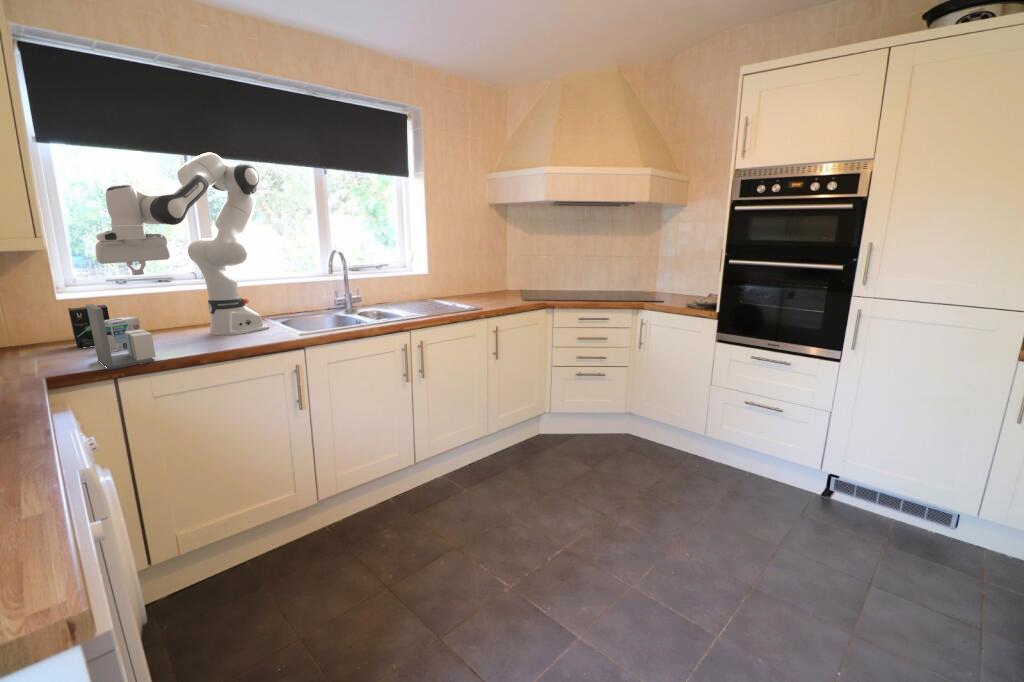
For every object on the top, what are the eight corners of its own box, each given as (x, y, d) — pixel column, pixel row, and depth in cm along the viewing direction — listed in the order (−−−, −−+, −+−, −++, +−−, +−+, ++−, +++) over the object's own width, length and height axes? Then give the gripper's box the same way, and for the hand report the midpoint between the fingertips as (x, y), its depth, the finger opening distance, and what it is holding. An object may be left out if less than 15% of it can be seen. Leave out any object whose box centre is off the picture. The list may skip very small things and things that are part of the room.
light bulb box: (116, 351, 173) (110, 322, 170) (101, 350, 174) (95, 321, 172) (144, 344, 183) (139, 316, 180) (130, 343, 184) (124, 316, 182)
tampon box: (112, 340, 190) (105, 304, 187) (115, 344, 184) (108, 306, 180) (75, 345, 183) (67, 307, 179) (77, 349, 176) (68, 310, 173)
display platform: (142, 354, 168) (132, 300, 164) (154, 361, 158) (143, 304, 154) (98, 361, 159) (86, 304, 155) (107, 369, 149) (95, 309, 145)
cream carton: (142, 329, 166) (124, 331, 162) (151, 333, 158) (132, 336, 154) (146, 351, 167) (128, 354, 164) (155, 357, 160) (137, 360, 156)
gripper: (162, 233, 174) (170, 271, 178) (90, 235, 159) (99, 277, 163) (168, 233, 170) (175, 272, 174) (94, 235, 155) (103, 278, 159)
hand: (138, 274), depth 168 cm, fingers closed
